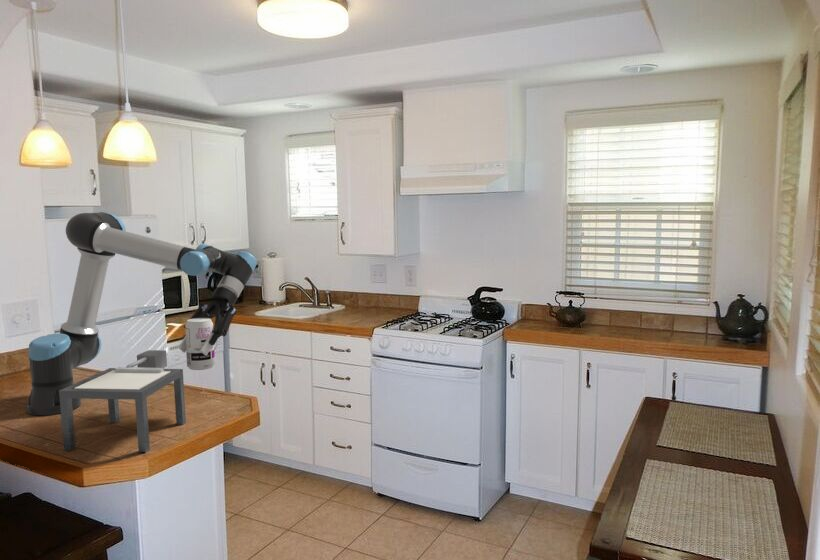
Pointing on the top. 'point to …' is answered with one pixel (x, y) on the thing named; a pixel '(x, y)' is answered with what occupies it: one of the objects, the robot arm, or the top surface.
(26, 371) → the top surface
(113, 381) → the trapdoor
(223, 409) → the top surface
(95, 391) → the stand
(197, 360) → the supplement can
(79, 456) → the top surface
